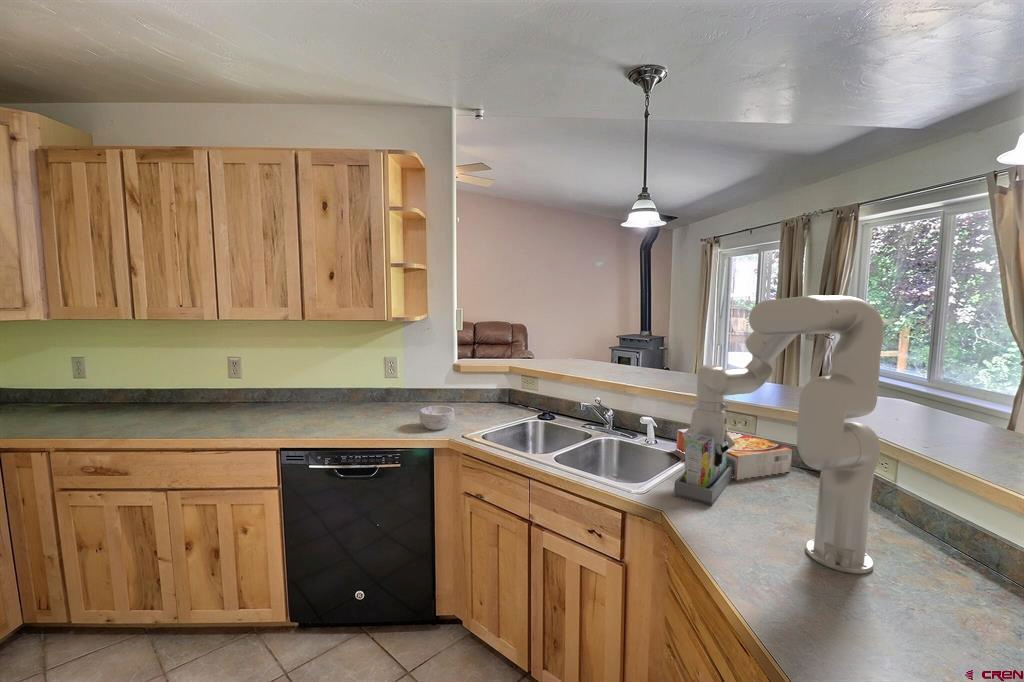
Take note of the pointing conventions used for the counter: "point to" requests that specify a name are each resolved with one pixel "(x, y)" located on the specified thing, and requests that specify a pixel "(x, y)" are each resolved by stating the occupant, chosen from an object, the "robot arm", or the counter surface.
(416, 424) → the counter surface
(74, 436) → the counter surface
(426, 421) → the grey bowl
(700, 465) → the snack box
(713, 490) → the tray
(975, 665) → the counter surface
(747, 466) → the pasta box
